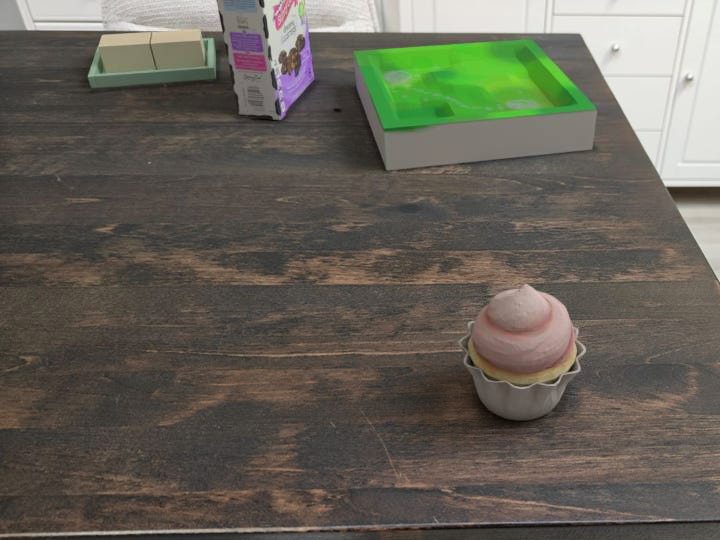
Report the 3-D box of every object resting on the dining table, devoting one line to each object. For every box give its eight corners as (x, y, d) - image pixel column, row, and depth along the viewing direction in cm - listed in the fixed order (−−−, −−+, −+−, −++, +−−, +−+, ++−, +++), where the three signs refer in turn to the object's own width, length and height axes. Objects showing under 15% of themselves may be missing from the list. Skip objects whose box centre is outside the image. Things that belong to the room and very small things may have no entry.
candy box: (281, 122, 94) (258, -20, 83) (237, 118, 94) (208, -24, 84) (317, 82, 104) (300, -50, 93) (276, 78, 105) (255, -52, 94)
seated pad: (157, 72, 104) (150, 43, 101) (159, 60, 107) (152, 31, 105) (206, 69, 105) (200, 40, 103) (206, 57, 109) (200, 28, 106)
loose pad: (106, 76, 102) (97, 46, 100) (110, 63, 106) (101, 34, 103) (156, 72, 104) (149, 43, 101) (158, 60, 107) (151, 31, 105)
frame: (92, 92, 100) (87, 76, 98) (102, 59, 109) (97, 45, 107) (217, 82, 103) (213, 67, 102) (216, 52, 112) (213, 37, 111)
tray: (528, 74, 108) (531, 38, 104) (592, 149, 90) (597, 108, 86) (356, 88, 102) (353, 51, 99) (386, 170, 84) (383, 128, 81)
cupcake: (577, 356, 61) (591, 252, 54) (581, 440, 54) (598, 333, 47) (463, 350, 61) (463, 245, 54) (452, 433, 54) (451, 324, 47)
